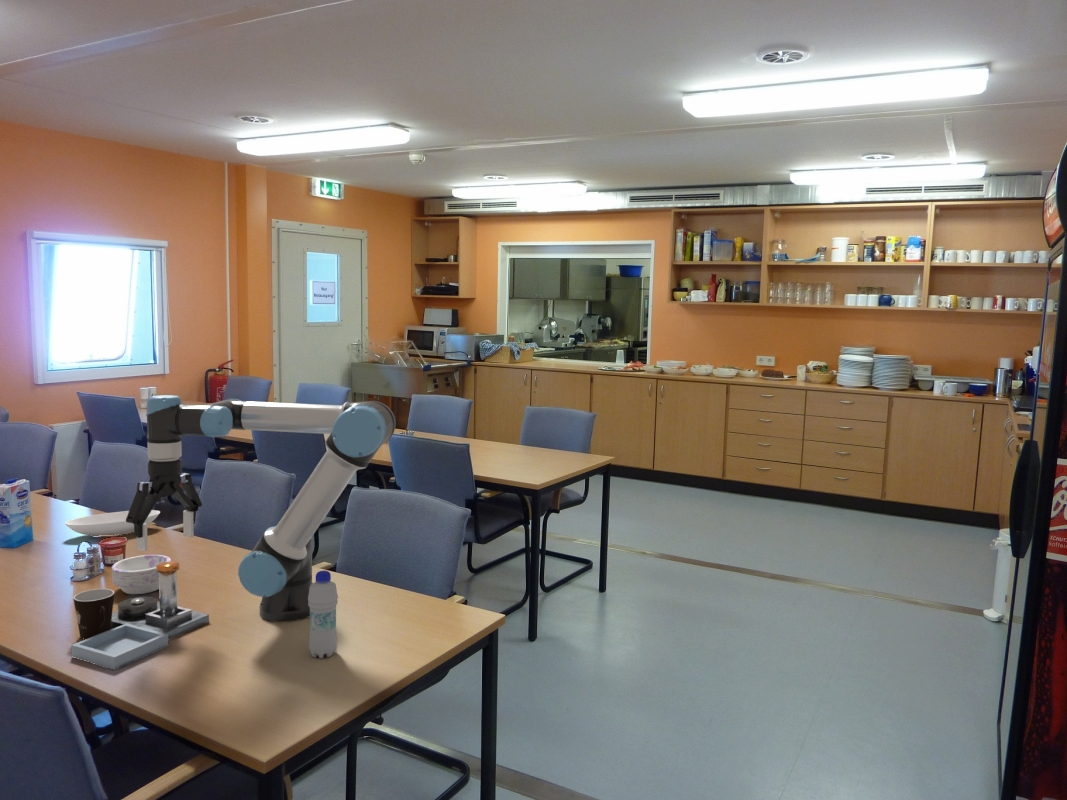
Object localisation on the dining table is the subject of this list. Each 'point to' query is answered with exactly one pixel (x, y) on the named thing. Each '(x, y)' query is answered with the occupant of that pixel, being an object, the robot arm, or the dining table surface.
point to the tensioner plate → (156, 617)
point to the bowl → (106, 523)
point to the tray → (120, 646)
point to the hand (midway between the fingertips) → (166, 543)
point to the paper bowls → (138, 573)
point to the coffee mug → (94, 611)
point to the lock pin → (168, 588)
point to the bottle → (322, 615)
